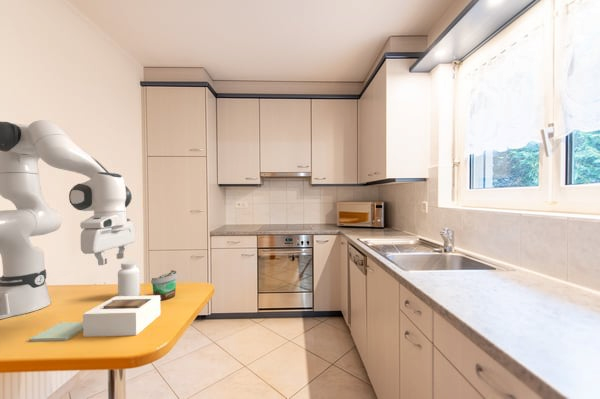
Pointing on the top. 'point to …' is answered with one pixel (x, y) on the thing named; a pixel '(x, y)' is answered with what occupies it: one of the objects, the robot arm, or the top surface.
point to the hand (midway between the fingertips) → (112, 261)
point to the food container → (165, 285)
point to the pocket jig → (121, 317)
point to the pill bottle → (129, 279)
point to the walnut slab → (124, 304)
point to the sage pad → (59, 332)
